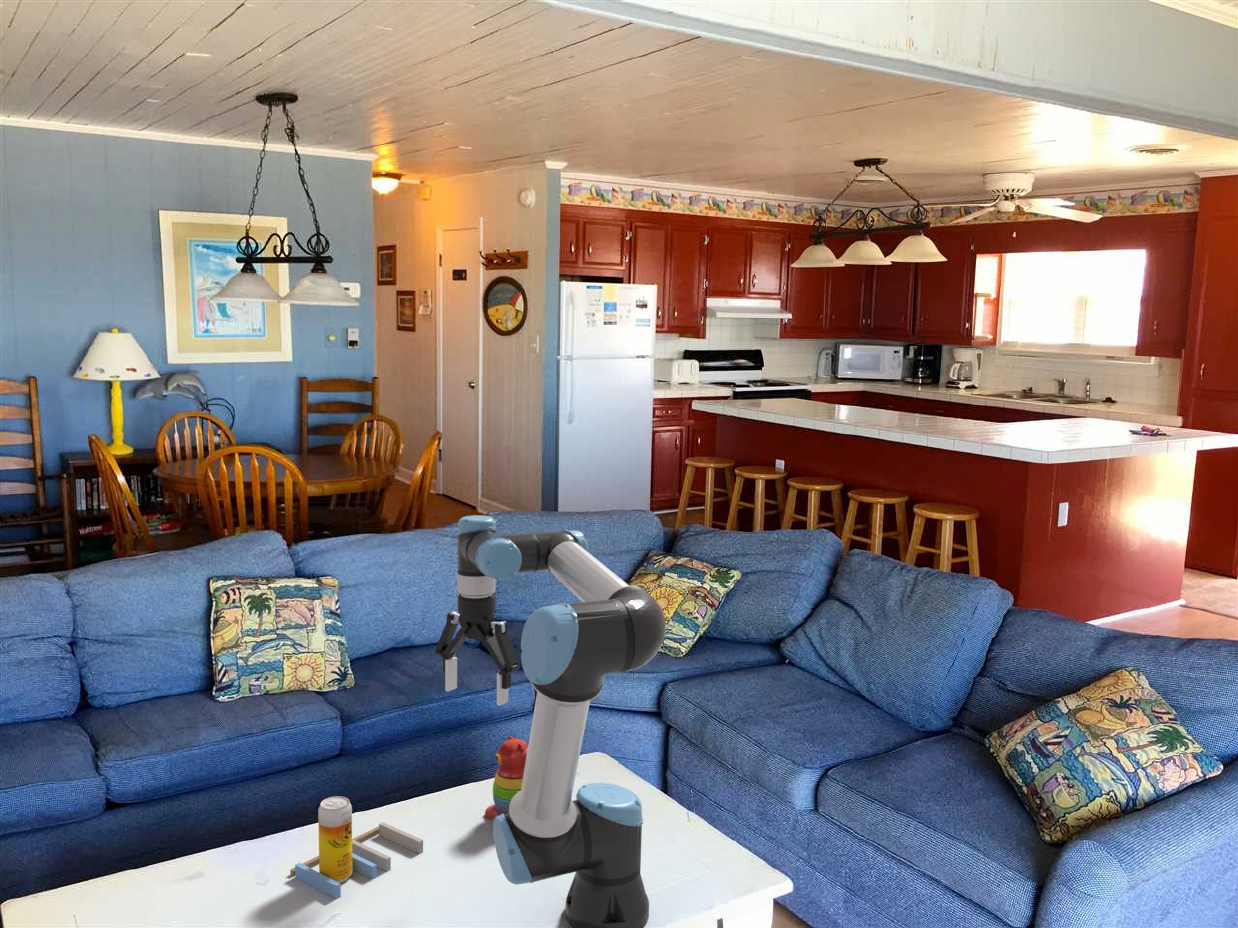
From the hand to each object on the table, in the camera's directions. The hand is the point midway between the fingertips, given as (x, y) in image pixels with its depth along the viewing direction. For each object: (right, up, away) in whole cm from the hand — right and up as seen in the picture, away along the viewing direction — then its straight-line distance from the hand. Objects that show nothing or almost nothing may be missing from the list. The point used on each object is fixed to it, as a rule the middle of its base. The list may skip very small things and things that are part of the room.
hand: (476, 696), depth 203 cm
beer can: (-25, -32, -11) cm, 42 cm away
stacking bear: (+6, -30, +13) cm, 33 cm away
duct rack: (-22, -31, -6) cm, 39 cm away
